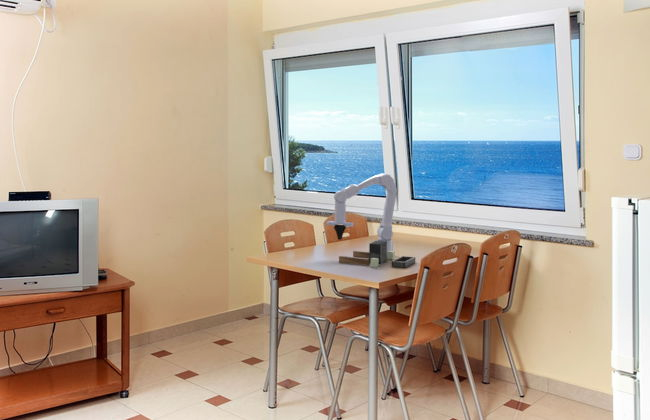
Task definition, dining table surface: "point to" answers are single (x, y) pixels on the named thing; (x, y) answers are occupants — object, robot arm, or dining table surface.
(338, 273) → the dining table surface
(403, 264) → the black pit tray
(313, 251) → the dining table surface
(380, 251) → the small box
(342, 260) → the walnut tunnel rails
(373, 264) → the sage goal posts
